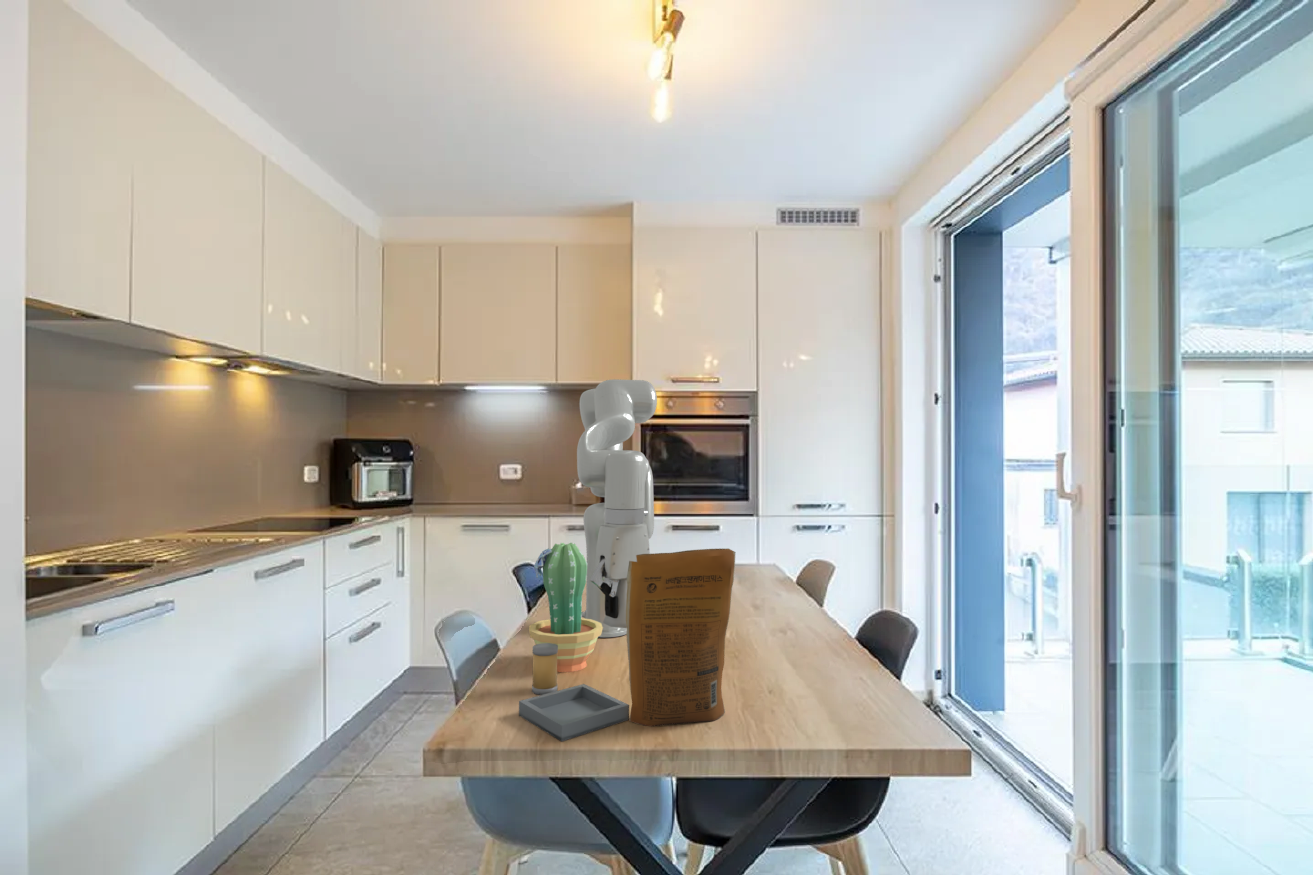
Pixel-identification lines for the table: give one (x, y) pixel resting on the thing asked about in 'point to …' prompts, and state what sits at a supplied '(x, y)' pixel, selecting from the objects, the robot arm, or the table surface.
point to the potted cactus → (565, 607)
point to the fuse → (544, 668)
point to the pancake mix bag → (678, 634)
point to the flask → (619, 607)
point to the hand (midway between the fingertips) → (623, 613)
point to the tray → (573, 711)
